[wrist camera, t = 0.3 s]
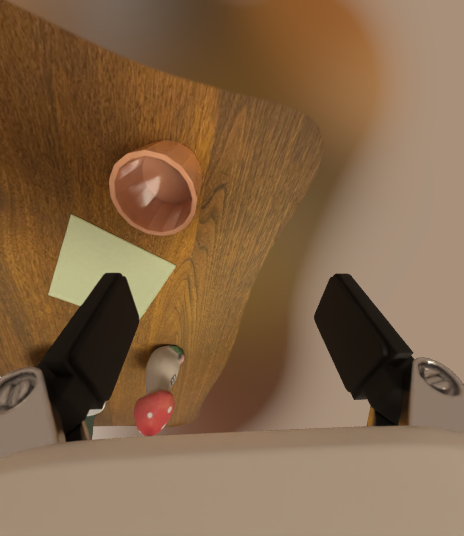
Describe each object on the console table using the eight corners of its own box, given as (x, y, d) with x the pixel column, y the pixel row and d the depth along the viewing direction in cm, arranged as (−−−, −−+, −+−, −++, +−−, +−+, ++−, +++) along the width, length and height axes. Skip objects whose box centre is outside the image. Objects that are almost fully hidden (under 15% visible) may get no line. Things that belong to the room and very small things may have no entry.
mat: (71, 213, 25) (70, 214, 25) (176, 265, 31) (176, 266, 31) (49, 294, 33) (48, 294, 33) (136, 324, 38) (136, 325, 38)
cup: (155, 124, 21) (126, 128, 14) (214, 167, 23) (211, 187, 17) (131, 183, 24) (98, 208, 17) (184, 215, 26) (173, 248, 20)
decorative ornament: (168, 367, 48) (151, 453, 35) (141, 358, 45) (113, 448, 33) (192, 349, 44) (181, 438, 32) (164, 337, 41) (141, 431, 29)
